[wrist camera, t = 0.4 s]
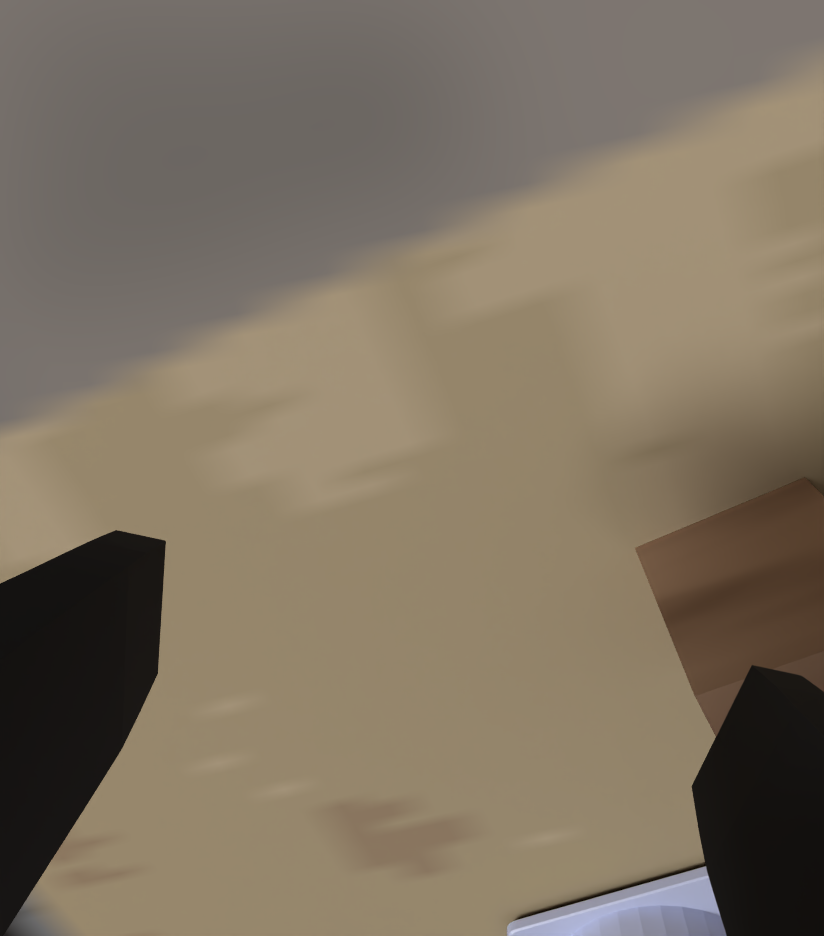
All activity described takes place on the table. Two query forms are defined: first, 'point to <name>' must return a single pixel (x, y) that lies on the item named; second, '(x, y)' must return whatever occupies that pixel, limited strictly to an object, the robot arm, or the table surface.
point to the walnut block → (744, 593)
